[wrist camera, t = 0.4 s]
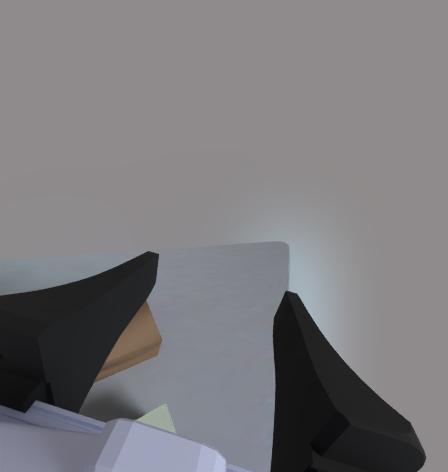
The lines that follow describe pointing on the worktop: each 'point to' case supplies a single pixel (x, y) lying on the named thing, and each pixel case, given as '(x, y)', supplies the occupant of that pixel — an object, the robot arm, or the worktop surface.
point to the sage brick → (159, 418)
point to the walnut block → (133, 344)
